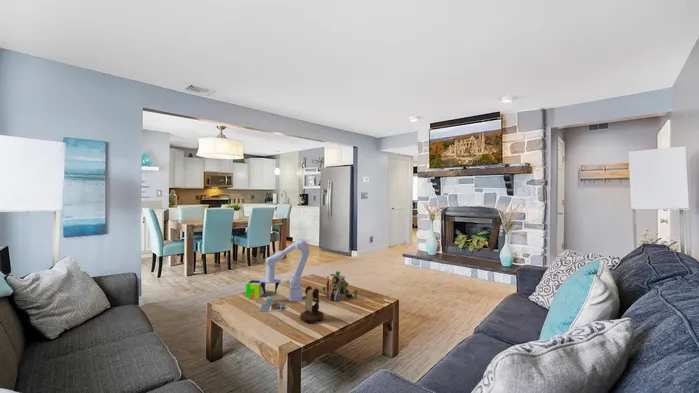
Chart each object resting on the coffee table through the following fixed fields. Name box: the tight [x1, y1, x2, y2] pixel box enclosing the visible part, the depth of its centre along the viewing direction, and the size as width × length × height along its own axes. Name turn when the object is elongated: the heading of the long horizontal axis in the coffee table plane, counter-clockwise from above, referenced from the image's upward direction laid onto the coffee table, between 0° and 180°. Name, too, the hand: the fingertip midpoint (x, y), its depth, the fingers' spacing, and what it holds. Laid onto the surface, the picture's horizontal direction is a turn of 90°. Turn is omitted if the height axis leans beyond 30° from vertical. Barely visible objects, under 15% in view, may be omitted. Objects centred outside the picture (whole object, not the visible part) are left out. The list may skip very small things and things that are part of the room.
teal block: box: [265, 295, 275, 304], centre depth 217 cm, size 4×4×4 cm
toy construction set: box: [321, 270, 359, 302], centre depth 234 cm, size 27×22×21 cm
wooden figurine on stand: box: [299, 285, 324, 325], centre depth 191 cm, size 15×15×20 cm
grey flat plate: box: [259, 302, 286, 313], centre depth 207 cm, size 16×14×1 cm
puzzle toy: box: [245, 279, 265, 299], centre depth 232 cm, size 10×10×10 cm
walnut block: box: [270, 300, 281, 310], centre depth 206 cm, size 5×5×4 cm
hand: (270, 293), depth 217 cm, fingers open, 7 cm apart
